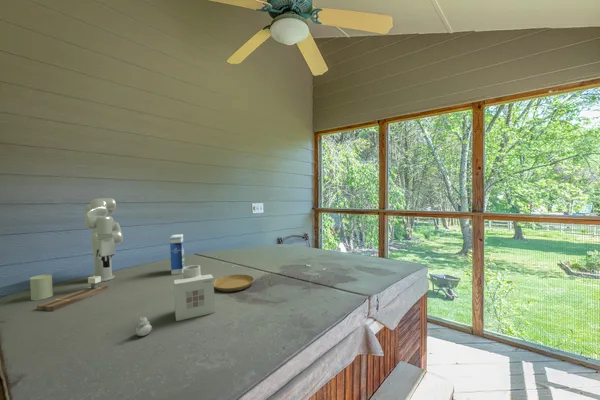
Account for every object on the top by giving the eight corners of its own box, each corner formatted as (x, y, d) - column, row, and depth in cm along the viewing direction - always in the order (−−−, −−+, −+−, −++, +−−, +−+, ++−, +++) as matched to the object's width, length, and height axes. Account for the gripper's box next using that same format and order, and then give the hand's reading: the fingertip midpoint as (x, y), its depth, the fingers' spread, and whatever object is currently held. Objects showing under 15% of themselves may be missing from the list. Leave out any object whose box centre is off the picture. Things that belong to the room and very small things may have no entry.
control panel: (176, 321, 119) (174, 275, 119) (173, 306, 136) (172, 265, 135) (215, 312, 127) (213, 269, 126) (208, 299, 143) (206, 261, 143)
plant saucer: (223, 297, 147) (223, 290, 146) (205, 286, 165) (205, 280, 165) (262, 285, 162) (261, 280, 162) (241, 277, 181) (241, 272, 180)
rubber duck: (132, 338, 106) (131, 318, 105) (141, 330, 112) (141, 310, 112) (146, 338, 106) (145, 317, 106) (155, 329, 112) (154, 310, 112)
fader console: (37, 309, 136) (37, 305, 136) (94, 288, 165) (94, 285, 165) (53, 311, 134) (53, 306, 134) (108, 289, 163) (108, 285, 163)
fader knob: (88, 288, 159) (87, 277, 159) (94, 286, 163) (93, 275, 162) (95, 288, 158) (94, 277, 158) (101, 286, 162) (100, 275, 161)
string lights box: (182, 273, 191) (181, 236, 190) (170, 275, 189) (169, 237, 188) (184, 268, 204) (183, 233, 203) (173, 269, 202) (172, 234, 201)
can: (56, 295, 156) (55, 274, 155) (35, 301, 147) (34, 279, 147) (48, 293, 159) (47, 272, 159) (27, 299, 151) (25, 277, 151)
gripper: (110, 235, 175) (112, 264, 175) (87, 239, 161) (89, 270, 161) (120, 235, 174) (122, 264, 174) (98, 238, 159) (100, 270, 159)
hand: (106, 267), depth 167 cm, fingers closed
